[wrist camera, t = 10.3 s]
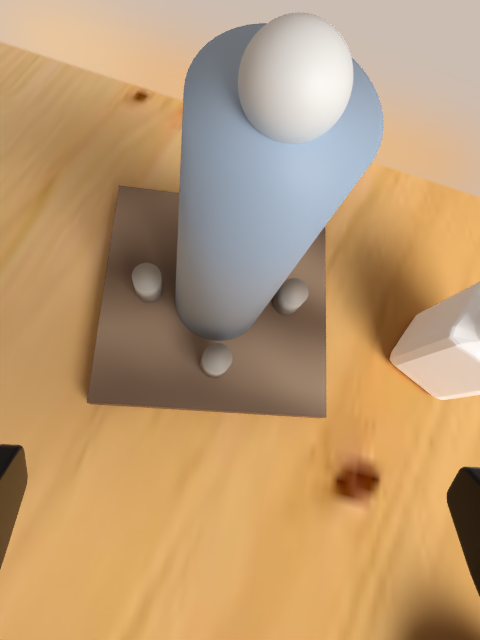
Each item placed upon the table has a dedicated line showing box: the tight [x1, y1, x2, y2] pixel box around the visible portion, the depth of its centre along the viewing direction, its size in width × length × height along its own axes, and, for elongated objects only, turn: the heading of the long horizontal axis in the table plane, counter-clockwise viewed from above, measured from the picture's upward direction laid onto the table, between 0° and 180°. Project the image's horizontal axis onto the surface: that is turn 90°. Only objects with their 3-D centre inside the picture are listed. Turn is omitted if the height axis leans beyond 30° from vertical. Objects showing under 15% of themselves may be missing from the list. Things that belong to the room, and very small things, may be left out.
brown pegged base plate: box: [87, 186, 326, 418], centre depth 22 cm, size 12×12×3 cm
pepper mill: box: [175, 13, 383, 341], centre depth 15 cm, size 5×5×16 cm
